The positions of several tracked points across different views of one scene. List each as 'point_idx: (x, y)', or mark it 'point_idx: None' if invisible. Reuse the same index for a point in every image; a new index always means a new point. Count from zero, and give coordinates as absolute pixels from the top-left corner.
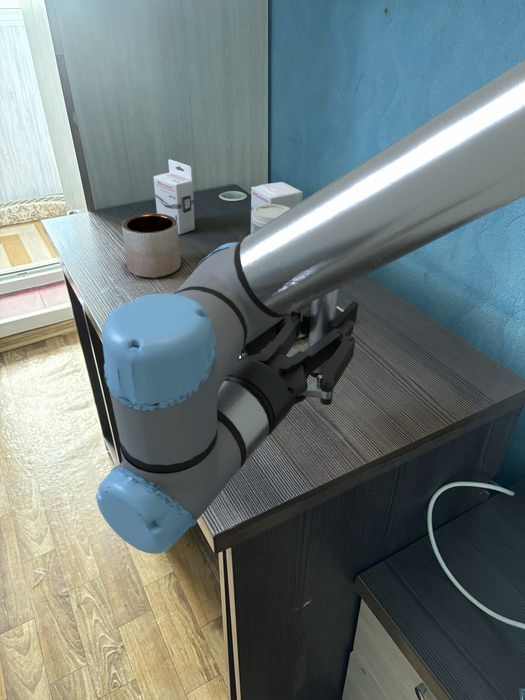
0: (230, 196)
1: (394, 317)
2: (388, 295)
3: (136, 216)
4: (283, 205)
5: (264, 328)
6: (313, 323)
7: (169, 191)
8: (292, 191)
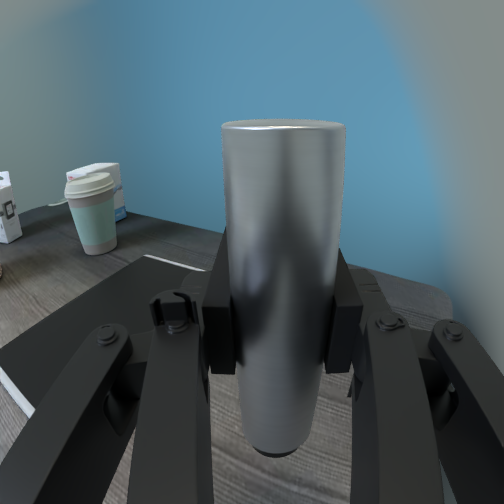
0: (57, 201)
1: None
2: None
3: None
4: None
5: (48, 439)
6: (262, 326)
7: None
8: (108, 165)
